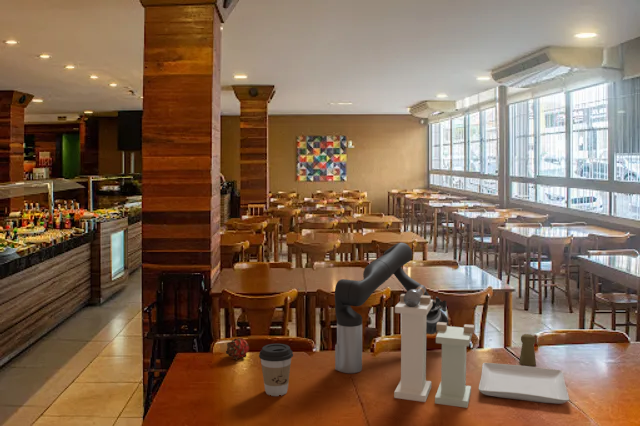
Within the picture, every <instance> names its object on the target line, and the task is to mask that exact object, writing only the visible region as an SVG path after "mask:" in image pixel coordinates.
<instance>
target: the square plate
mask: <svg viewBox="0 0 640 426" xmlns="http://www.w3.org/2000/svg"><path fill="white" fill-rule="evenodd" d="M480 375H481V376H480V381H479V385H478V391H479V392H480V393H481V394H483V395H485V396H490V397H497V398H503V399H511V400H512V399H513V400H520V401H526V402H534V403H545V404H557V405H558V404H559V405H560V404H565V403H567V402H568V401H570V396H569V392H568V389H567V386H566V381H565V373H564V371H563V370H561V369H553V368H546V367H537V366H525V365H521V364H519V365H518V364H507V363H496V362H495V363H493V362H483V363H482V366H481V374H480Z"/></svg>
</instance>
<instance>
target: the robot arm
mask: <svg viewBox="0 0 640 426" xmlns="http://www.w3.org/2000/svg"><path fill="white" fill-rule="evenodd" d="M412 258H413V251H412V248H411V247H410V245H409V244H407V243H405V242H397V243H395V244H394V245H393V246H391V247H390V248H387V249H386V250H385V251H384V252H383V255H381V256H379V257H377V258H376V259H374V260H373V261H371V262H370V263H368V265H366V267H365V268H364V270H363V271H362V272H363V273H362V276H363V279H362V280H354V279H345V278H344V279H339V280H338V281H337V283H336V284H335V288H334V305H335V306H334V307H335V308H334V309H335V310H334V311H335V317H336V343H335V346H334V361H335V363H334V365H335V366H334V367H335V368H334V369H335V371H339V372H340V373H344V374H356V373H359V372H361V371H362V370H363V316H362V315H361V314H360V313H358V312H357V311H355V310H354V309H353V308H352V307H360V306H362V305H364V304H365V303H366V302H367V300H368V299H369V298H370V297H371V296H372V294H374V292H375V291H376V290H377V289H379V287H380V286H382V285H383V284H384V283H386V282H387V280H389V279H390V278H391V276H393V275H394V276H395V278H396V279H397V280H398V282H400V284H401V285H402V287H403V288H404V289H405V291H406V293H407V292H408V291H409V290H411V289H416V288H418V286H420V285H422V284H421V283H419V282H418V281H417V280H415V279H414V278H412V277H410V276H409V275H408V274H407V273H406V272H405V271H404V269H403V266H405V265H406V264H408V263H410V261H412ZM424 295H425V296H430V294H429V293H428V291H427V290H426V292H425V293H424ZM431 300H433V306H432V308H431V309H430V311H429V312H428V314H427V321H426V334H430V335H433V334H435V333H438V330H436V326H437V322H445V323H447V326H449V318H448V316H447V315H446V314H445V313H446V312H447V309H448V308H447V306H448V304H447V300H441V298H439V297H438V296H436V297H435V299H433V298H431ZM444 312H445V313H444Z"/></svg>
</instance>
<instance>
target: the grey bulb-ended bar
mask: <svg viewBox="0 0 640 426" xmlns="http://www.w3.org/2000/svg"><path fill="white" fill-rule="evenodd" d="M426 291H427V287H426V286H425V285H423V284H421V285H420V286H418V288H416V289H411V290H409V291H408V292H407V291H406V293H404V294H405V295H404V303H405V304H406V305H407V306H409V307H415V306H417V305H418V303H419V302H420V300H421V295H424V293H425V292H426Z"/></svg>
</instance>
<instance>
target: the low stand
mask: <svg viewBox="0 0 640 426" xmlns="http://www.w3.org/2000/svg"><path fill="white" fill-rule="evenodd" d="M436 330H438V331H437V334H436V336H435V344H441V372H440V374H441V375H440V376H441V378H440V382H439V386H438V388H437V392H436V393H435V396H434V404H438V405H444V406H452V407H460V408H466V409H467V408H469V407H468V406H469V403H470V399H471V394H472V385H466V384H467V381H466V380H467V378H466V377H467V347H470V344H471V340H472V336H473V334H474V333H475V325H474V324H463V327H460V326H450V325H447V323H445V322H437V326H436Z"/></svg>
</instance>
